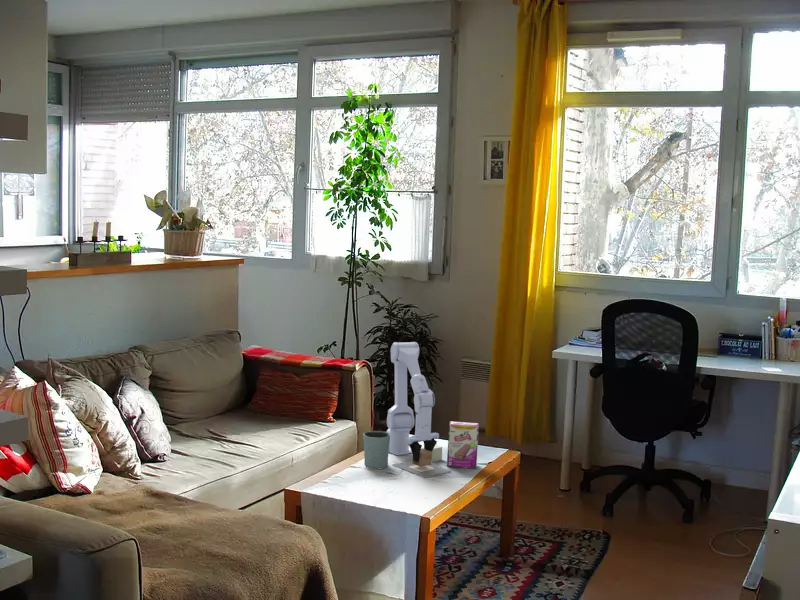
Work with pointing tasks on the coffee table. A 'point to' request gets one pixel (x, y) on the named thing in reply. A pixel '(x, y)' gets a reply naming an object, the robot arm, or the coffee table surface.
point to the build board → (422, 469)
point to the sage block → (436, 453)
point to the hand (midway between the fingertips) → (421, 460)
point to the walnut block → (423, 458)
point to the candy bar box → (462, 444)
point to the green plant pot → (376, 449)
